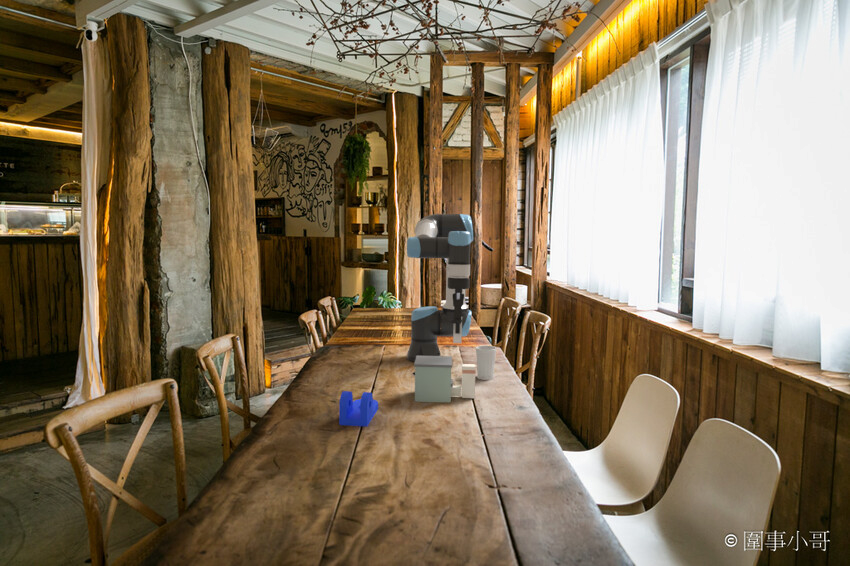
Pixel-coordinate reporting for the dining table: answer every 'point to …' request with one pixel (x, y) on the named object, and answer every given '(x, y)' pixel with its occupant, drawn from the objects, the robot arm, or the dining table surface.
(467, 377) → the pink striped cream block
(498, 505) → the dining table surface
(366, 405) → the bracket
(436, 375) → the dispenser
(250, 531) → the dining table surface
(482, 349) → the cup
